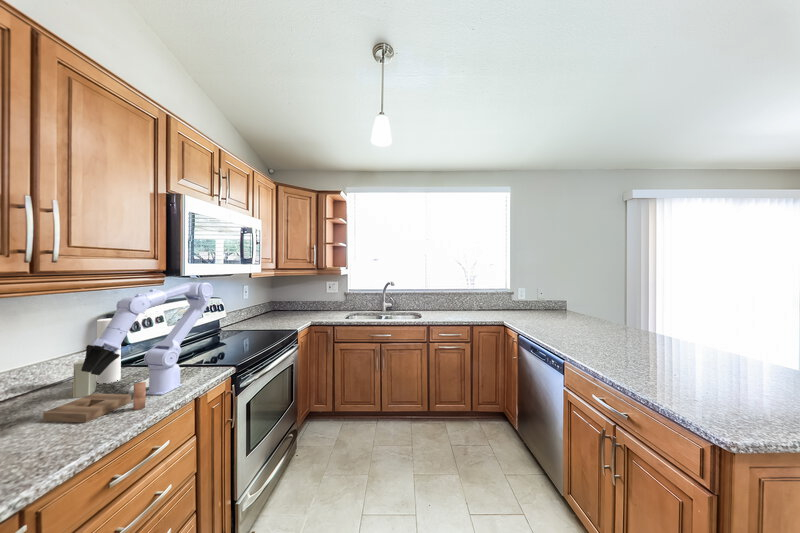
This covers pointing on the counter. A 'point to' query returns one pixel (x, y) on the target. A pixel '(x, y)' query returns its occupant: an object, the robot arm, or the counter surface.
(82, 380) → the skincare box
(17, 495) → the counter surface
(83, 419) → the walnut socket plate
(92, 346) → the robot arm
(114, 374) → the cylindrical container
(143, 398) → the terracotta peg
